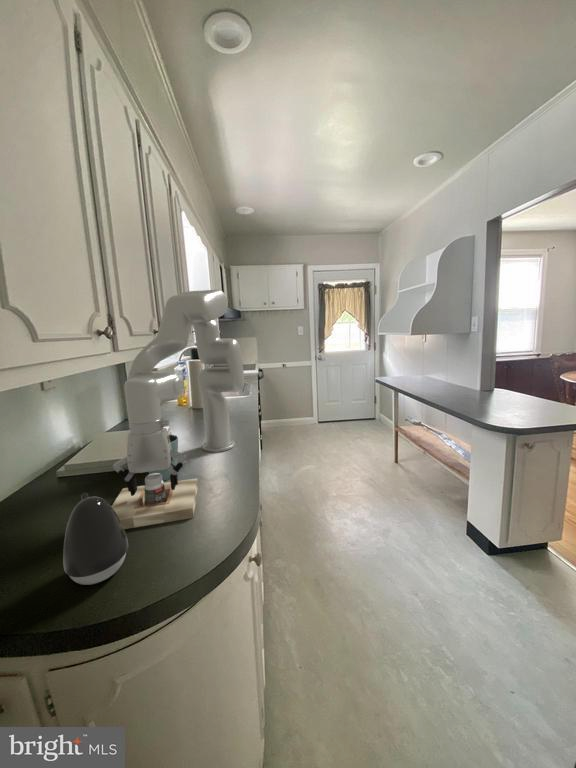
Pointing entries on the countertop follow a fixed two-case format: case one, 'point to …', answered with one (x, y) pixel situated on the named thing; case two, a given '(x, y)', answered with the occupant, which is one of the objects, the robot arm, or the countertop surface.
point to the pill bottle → (154, 489)
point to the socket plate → (157, 505)
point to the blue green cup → (166, 473)
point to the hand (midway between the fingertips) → (154, 490)
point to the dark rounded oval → (93, 541)
